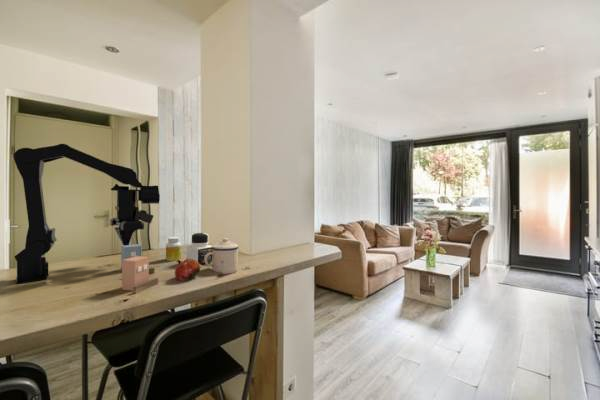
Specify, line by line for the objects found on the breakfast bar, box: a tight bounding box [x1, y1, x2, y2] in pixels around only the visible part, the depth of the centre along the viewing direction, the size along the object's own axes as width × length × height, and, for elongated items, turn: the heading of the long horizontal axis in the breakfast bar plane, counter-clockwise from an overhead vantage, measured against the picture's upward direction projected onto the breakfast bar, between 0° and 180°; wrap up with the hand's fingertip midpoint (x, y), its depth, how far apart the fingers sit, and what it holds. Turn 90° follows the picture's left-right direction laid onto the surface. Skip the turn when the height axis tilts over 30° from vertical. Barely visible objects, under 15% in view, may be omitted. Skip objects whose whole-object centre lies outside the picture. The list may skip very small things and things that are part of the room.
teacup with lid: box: [204, 237, 239, 275], centre depth 97 cm, size 12×9×12 cm
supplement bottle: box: [165, 236, 182, 262], centre depth 109 cm, size 5×5×10 cm
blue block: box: [120, 243, 142, 271], centre depth 94 cm, size 4×5×8 cm
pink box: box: [121, 255, 150, 292], centre depth 77 cm, size 4×5×8 cm
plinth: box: [132, 277, 159, 294], centre depth 77 cm, size 11×8×3 cm
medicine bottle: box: [185, 232, 213, 267], centre depth 106 cm, size 7×7×12 cm
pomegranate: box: [174, 259, 202, 282], centre depth 86 cm, size 7×7×10 cm
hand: (126, 247), depth 98 cm, fingers closed
